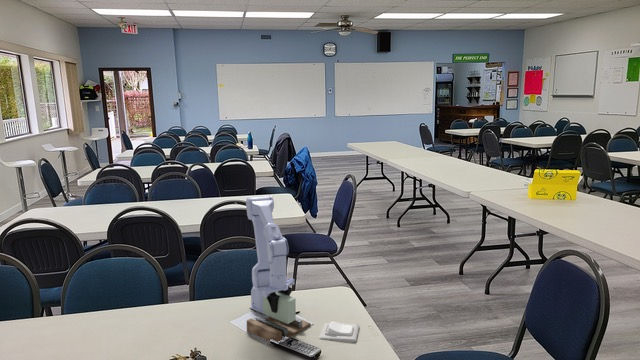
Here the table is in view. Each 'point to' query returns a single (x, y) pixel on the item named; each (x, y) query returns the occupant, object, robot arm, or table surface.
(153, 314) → the table surface
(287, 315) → the pale green foam block
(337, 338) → the light switch
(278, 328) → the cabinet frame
